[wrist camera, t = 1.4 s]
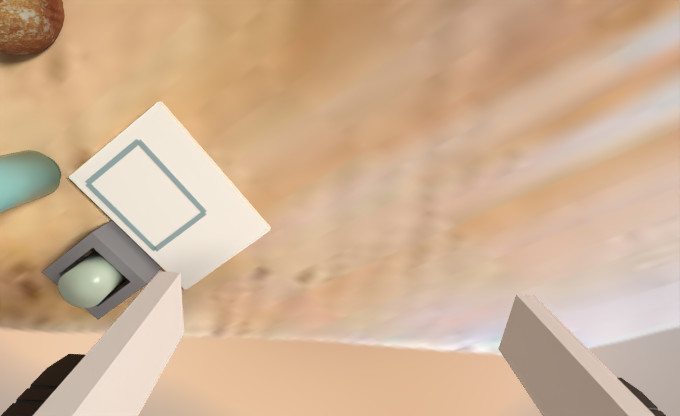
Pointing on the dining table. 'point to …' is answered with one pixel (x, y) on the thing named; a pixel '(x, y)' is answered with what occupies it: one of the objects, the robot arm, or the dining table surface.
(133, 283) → the button housing
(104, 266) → the button
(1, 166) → the white-capped teal capsule
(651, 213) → the dining table surface
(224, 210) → the sheet
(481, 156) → the dining table surface
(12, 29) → the bread roll
